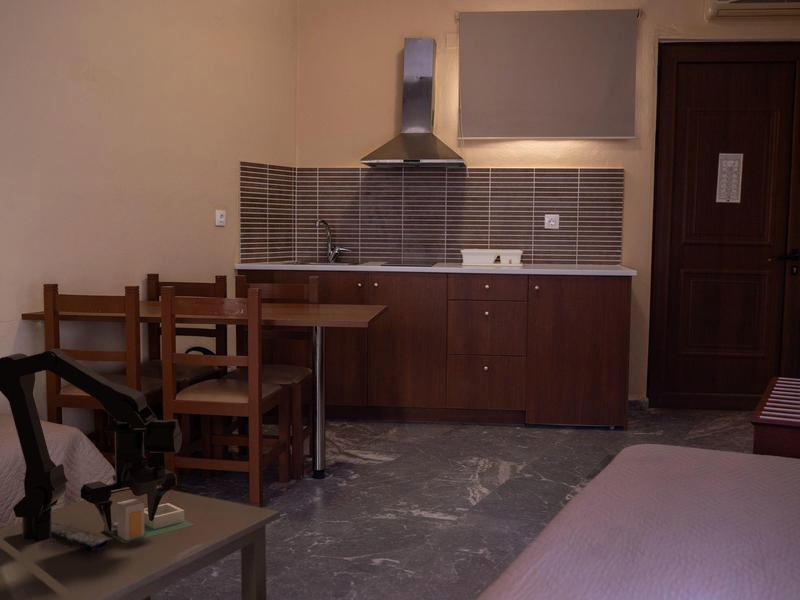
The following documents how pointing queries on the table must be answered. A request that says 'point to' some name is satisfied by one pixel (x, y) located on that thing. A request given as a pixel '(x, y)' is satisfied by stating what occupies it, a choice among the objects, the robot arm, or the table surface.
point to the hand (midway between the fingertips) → (130, 525)
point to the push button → (112, 529)
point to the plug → (130, 519)
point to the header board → (161, 522)
